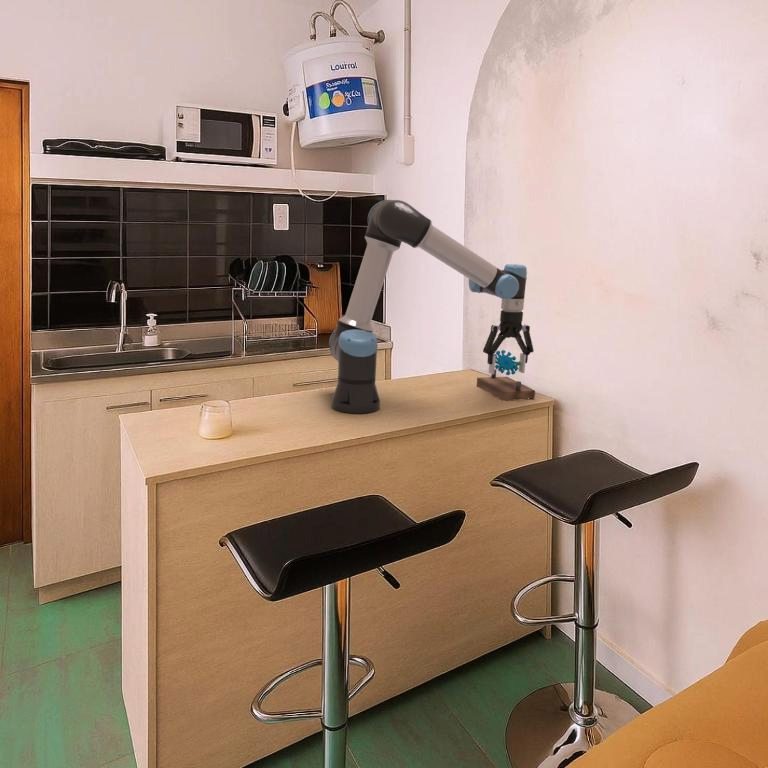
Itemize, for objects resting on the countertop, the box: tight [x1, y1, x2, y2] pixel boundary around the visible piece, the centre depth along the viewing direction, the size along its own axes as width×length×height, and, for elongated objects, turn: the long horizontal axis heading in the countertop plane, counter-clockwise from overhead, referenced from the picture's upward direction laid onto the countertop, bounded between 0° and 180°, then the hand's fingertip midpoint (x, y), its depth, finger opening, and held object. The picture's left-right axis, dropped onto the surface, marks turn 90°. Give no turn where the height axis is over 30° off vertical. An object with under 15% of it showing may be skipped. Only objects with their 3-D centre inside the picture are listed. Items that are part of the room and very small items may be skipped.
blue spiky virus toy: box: [494, 349, 521, 376], centre depth 236 cm, size 11×6×10 cm
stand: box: [476, 368, 536, 401], centre depth 236 cm, size 12×20×6 cm, turn 18°
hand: (506, 372), depth 235 cm, fingers closed on blue spiky virus toy, 11 cm apart
